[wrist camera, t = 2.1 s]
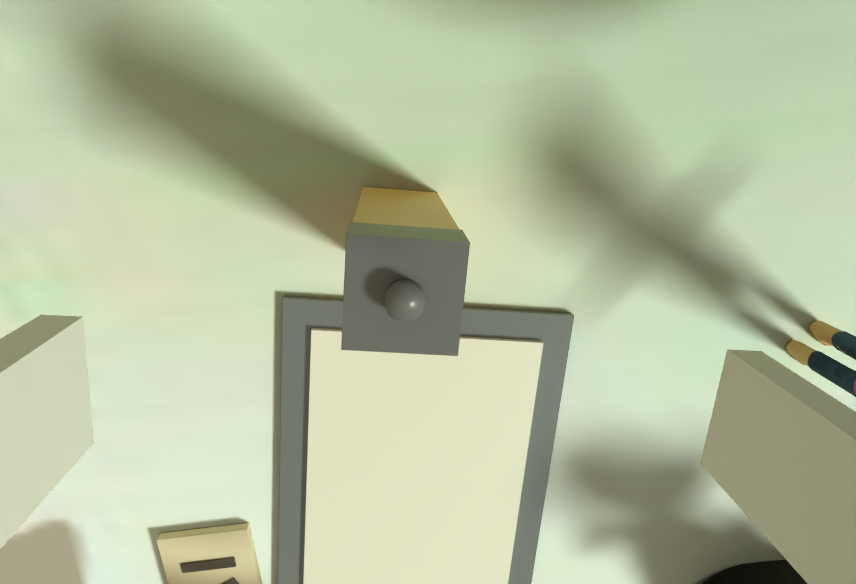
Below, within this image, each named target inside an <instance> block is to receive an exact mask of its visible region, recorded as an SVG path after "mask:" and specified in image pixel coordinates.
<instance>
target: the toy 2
mask: <svg viewBox="0 0 856 584" xmlns="http://www.w3.org/2000/svg"><path fill="white" fill-rule="evenodd" d="M810 330H811V331H812V333H813V335H814V336H815V338H816V339H817V341H819V342H820V343H822V344H823V345H827V346H834V347H835V348H836V349H837V350H839V351H841V352H843V353H845V354H846V355H848V356H850V357H852V358H853V359H855V360H856V337H855V336H853V335H851V334H849V333H847V332H844V331H841V330H839V329H837V328H835V327H833V326H831V325H829V324H827V323H825V322H822V321H815V322H813V323H811V325H810ZM786 350H787V351H788V353H789V354H790V355H791V356H793V357H794V358H795V359H796V360H797V361H798V362H800V363H801V364H803V365H807V366H809V367H810V368H811V369H812V370H813V371H815V372H817V373H818V374H820V375H821V376H823V377H825V378H826V379H828V380H830V381H831V382H833V383H834V384H836V385H838V386H839V387H841V388H843V389H844V390H846V391H847V392H849V393H850V394H852V395H854V396H855V397H856V371H854V370H852V369H850V368H848V367H847V366H845V365H843V364H841V363H839V362H838V361H836V360H834V359H832V358H830V357H829V356H827V355H825V354H823V353H822V352H819V351H815V350H814V349H812V348H810V347H808V346H807V345H805V344H803V343H801V342H799V341H796V340H792V341H791V342H789V343H788V344H787V347H786Z"/></svg>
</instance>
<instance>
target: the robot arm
mask: <svg viewBox="0 0 856 584" xmlns="http://www.w3.org/2000/svg"><path fill="white" fill-rule="evenodd" d="M93 443H94V439H93V428H92V416H91V405H90V394H89V382H88V371H87V359H86V348H85V336H84V325H83V317H77V316H58V315H40V316H38V317H37V318H35V319H33V320H32V321H30V322H28V323H27V324H25V325H23V326H21V327H20V328H18V329H16V330H15V331H13V332H11V333H10V334H8V335H6V336H5V337H3V338H1V339H0V549H1V548H2V546H3V545H4V544H5V543H6V542H7V541H8V540H9V538H10V537H11V536H12V535H13V534H14V533H15V532H16V531H17V529H18V528H19V527H20V526H21V525H22V524H23V523H24V521H25V520H26V519H27V518H28V517H29V516H30V515H31V513H32V512H33V511H34V510H35V509H36V508H37V507H38V506H39V504H40V503H41V502H42V501H43V500H44V499H45V498H46V496H47V495H48V494H49V493H50V492H51V491H52V490H53V488H54V487H55V486H56V485H57V484H58V483H59V482H60V481H61V479H62V478H63V477H64V476H65V475H66V474H67V473H68V471H69V470H70V469H71V468H72V467H73V466H74V465H75V463H76V462H77V461H78V460H79V459H80V458H81V457H82V456H83V454H84V453H85V452H86V451H87V450H88V449H89V448H90V446H91V445H92V444H93ZM701 464H702V465H703V467H704V468H705V469H706V470H707V471H708V472H709V473H710V474H711V476H712V477H713V478H714V479H715V480H716V481H717V482H718V483H719V485H720V486H721V487H722V488H723V489H724V490H725V491H726V492H727V494H728V495H729V496H730V497H731V498H732V499H733V500H734V501H735V503H736V504H737V505H738V506H739V507H740V508H741V509H742V510H743V512H744V513H745V514H746V515H747V516H748V517H749V518H750V519H751V521H752V522H753V523H754V524H755V525H756V526H757V527H758V528H759V530H760V531H761V532H762V533H763V534H764V535H765V536H766V537H767V539H768V540H769V541H770V542H771V543H772V544H773V545H774V546H775V548H776V549H777V550H778V551H779V552H780V553H781V554H782V555H783V557H784V558H785V559H786V560H787V561H788V562H789V563H790V564H791V566H792V567H793V568H794V569H795V570H796V571H797V572H798V573H799V575H800V576H801V577H802V578H803V579H804V580H805V581H806V582H807V584H856V412H855V411H853V410H852V409H850V408H849V407H847V406H846V405H844V404H842V403H841V402H839V401H838V400H836V399H835V398H833V397H832V396H830V395H828V394H827V393H825V392H824V391H822V390H821V389H819V388H818V387H816V386H815V385H813V384H811V383H810V382H808V381H807V380H805V379H804V378H802V377H801V376H799V375H797V374H796V373H794V372H793V371H791V370H790V369H788V368H787V367H785V366H783V365H782V364H780V363H779V362H777V361H776V360H774V359H773V358H771V357H769V356H768V355H766V354H765V353H763V352H762V351H745V350H727V353H726V357H725V361H724V366H723V370H722V374H721V378H720V383H719V387H718V391H717V395H716V400H715V404H714V408H713V412H712V417H711V421H710V425H709V429H708V434H707V438H706V442H705V447H704V451H703V455H702V459H701Z"/></svg>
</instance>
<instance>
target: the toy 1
mask: <svg viewBox="0 0 856 584" xmlns="http://www.w3.org/2000/svg"><path fill="white" fill-rule="evenodd" d="M703 584H807V582H806V581H805V580H804V579H803V578H802V577H801V576H800V575H799V573H798V572H797V571H796V570H795V569H794V568H793V567H792V566H791V564H790V563H789V562H788V561H787V560H777V561H765V562H757V563H749V564H741V565H738V566H735V567H731V568H728V569H726V570H724V571H722V572H719V573H717V574H715V575H714V576H712V577H711V578H709V579H708V580H706V581H705V582H704V583H703Z"/></svg>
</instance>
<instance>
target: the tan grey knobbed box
mask: <svg viewBox="0 0 856 584" xmlns="http://www.w3.org/2000/svg"><path fill="white" fill-rule="evenodd" d="M469 246H470V242H469V240H468V239H467V237H466V235H465V234H464V232H463V231H462V230H459V228H458V226H457V225H456V223H455V221H454V220H453V218H452V217H451V215H450V213H449V212H448V210H447V208H446V207H445V205H444V203H443V202H442V200H441V198H440V197H439V195H438V193H437V192H428V191H414V190H401V189H388V188H375V187H363V189H362V192H361V195H360V199H359V202H358V205H357V208H356V212H355V215H354V218H353V221H352V222H350V225H349V228H348V231H347V234H346V254H345V275H344V297H343V318H342V340H341V350H351V351H370V352H389V353H408V354H426V355H445V356H458V351H459V341H460V332H461V322H462V313H463V303H464V294H465V284H466V275H467V265H468V256H469Z"/></svg>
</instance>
